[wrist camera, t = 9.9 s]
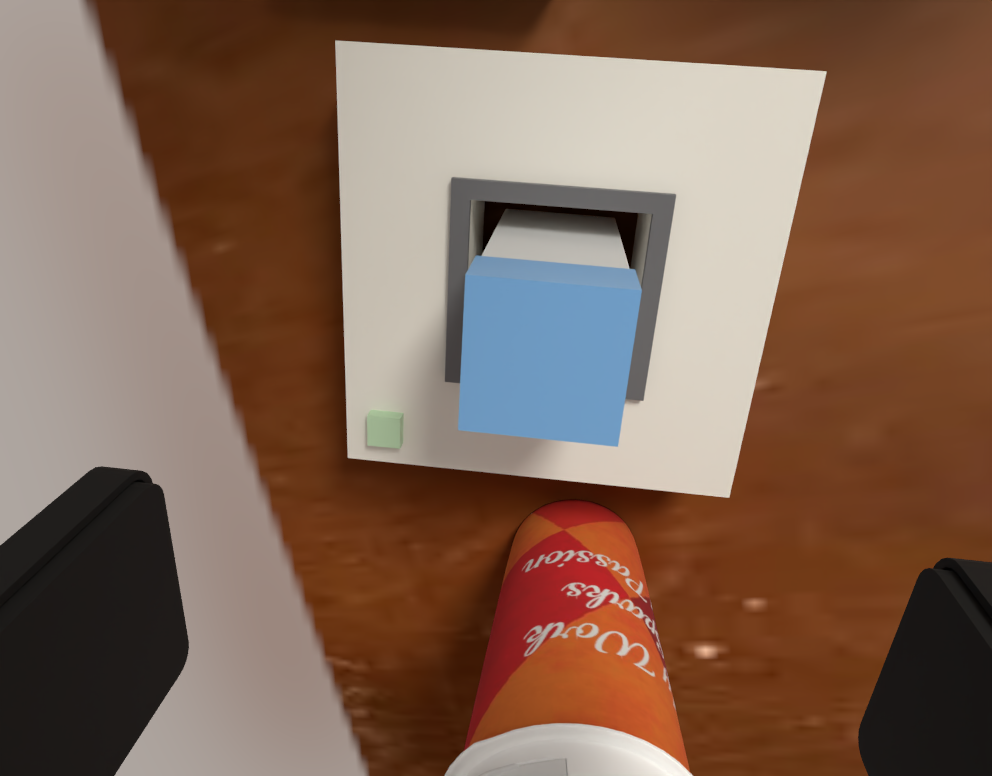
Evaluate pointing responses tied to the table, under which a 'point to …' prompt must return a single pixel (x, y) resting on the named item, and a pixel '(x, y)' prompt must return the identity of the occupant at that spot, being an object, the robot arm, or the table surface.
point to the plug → (549, 329)
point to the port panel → (575, 184)
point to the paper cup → (573, 658)
